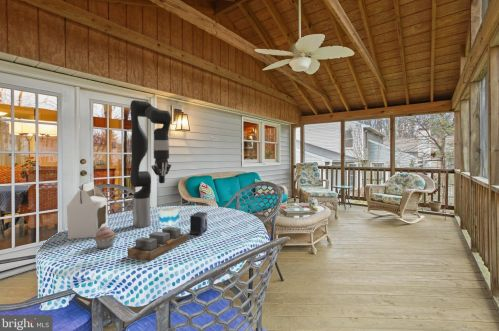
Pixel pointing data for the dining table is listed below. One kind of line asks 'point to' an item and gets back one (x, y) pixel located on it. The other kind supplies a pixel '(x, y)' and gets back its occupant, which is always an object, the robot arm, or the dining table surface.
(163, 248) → the rack
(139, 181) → the robot arm
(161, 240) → the block
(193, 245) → the dining table surface
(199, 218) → the small box
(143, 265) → the dining table surface
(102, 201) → the gable box
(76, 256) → the dining table surface
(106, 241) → the cupcake
